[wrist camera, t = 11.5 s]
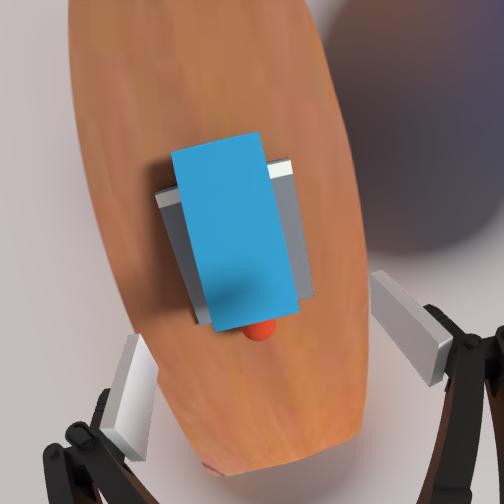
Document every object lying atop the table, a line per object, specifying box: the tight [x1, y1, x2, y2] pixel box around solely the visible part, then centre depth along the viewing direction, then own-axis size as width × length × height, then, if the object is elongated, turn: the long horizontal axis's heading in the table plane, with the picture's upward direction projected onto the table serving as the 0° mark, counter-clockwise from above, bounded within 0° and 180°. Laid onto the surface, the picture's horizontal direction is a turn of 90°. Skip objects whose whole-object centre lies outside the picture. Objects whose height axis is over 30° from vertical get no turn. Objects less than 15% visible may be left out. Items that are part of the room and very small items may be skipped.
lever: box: [171, 132, 300, 341], centre depth 26 cm, size 7×7×18 cm
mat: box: [155, 158, 314, 326], centre depth 28 cm, size 14×12×1 cm
